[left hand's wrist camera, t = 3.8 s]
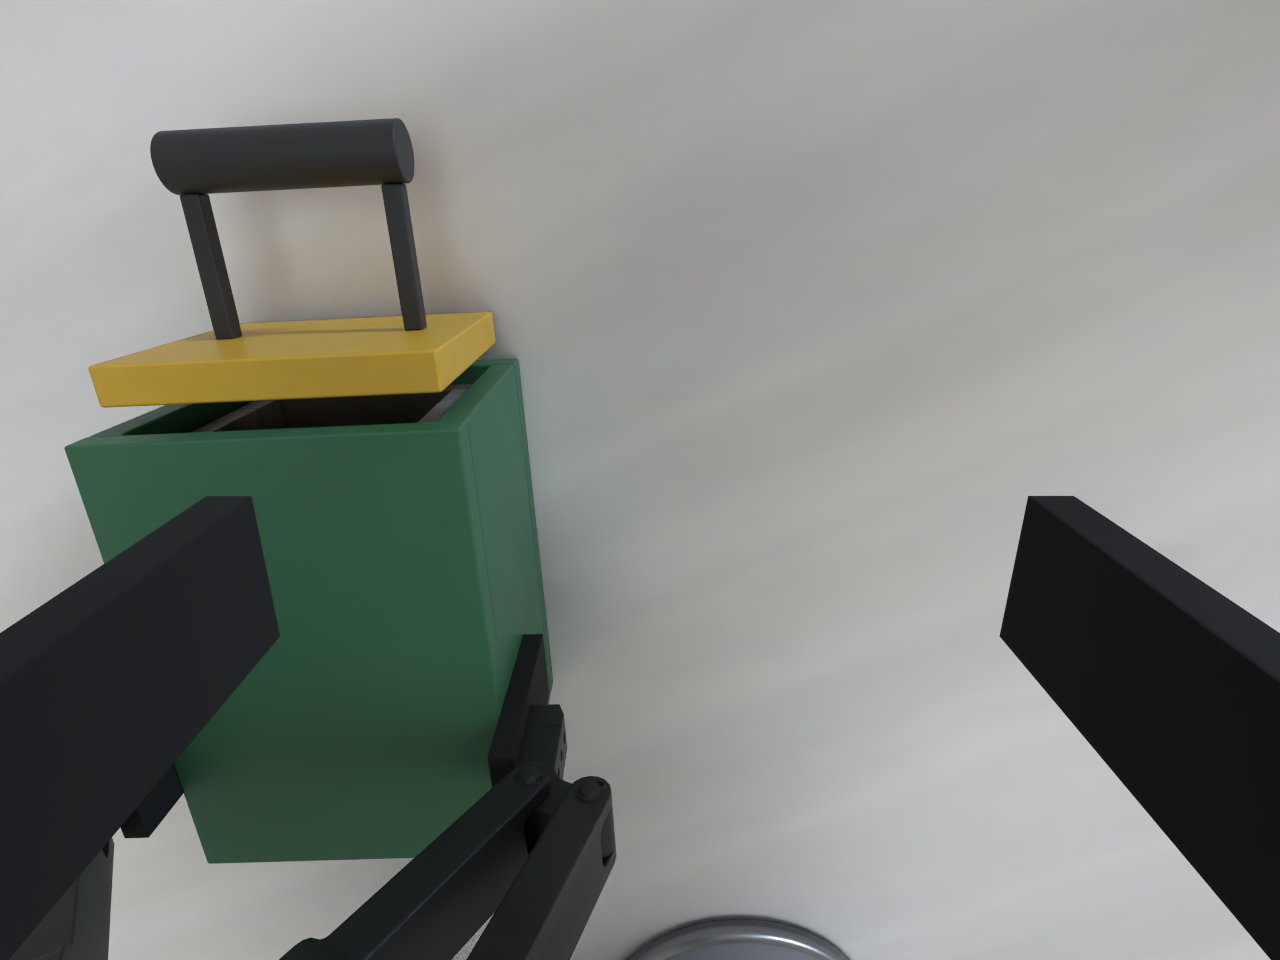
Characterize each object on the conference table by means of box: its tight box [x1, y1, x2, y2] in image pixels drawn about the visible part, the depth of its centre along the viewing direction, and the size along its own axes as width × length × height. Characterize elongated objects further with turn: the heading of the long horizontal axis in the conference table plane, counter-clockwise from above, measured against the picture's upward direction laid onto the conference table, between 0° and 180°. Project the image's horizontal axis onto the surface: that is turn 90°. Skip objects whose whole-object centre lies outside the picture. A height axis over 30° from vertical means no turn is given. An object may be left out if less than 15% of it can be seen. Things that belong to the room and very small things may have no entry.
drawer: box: [89, 118, 496, 433], centre depth 25 cm, size 20×10×8 cm, turn 3°
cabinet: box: [65, 359, 553, 863], centre depth 27 cm, size 15×11×10 cm
